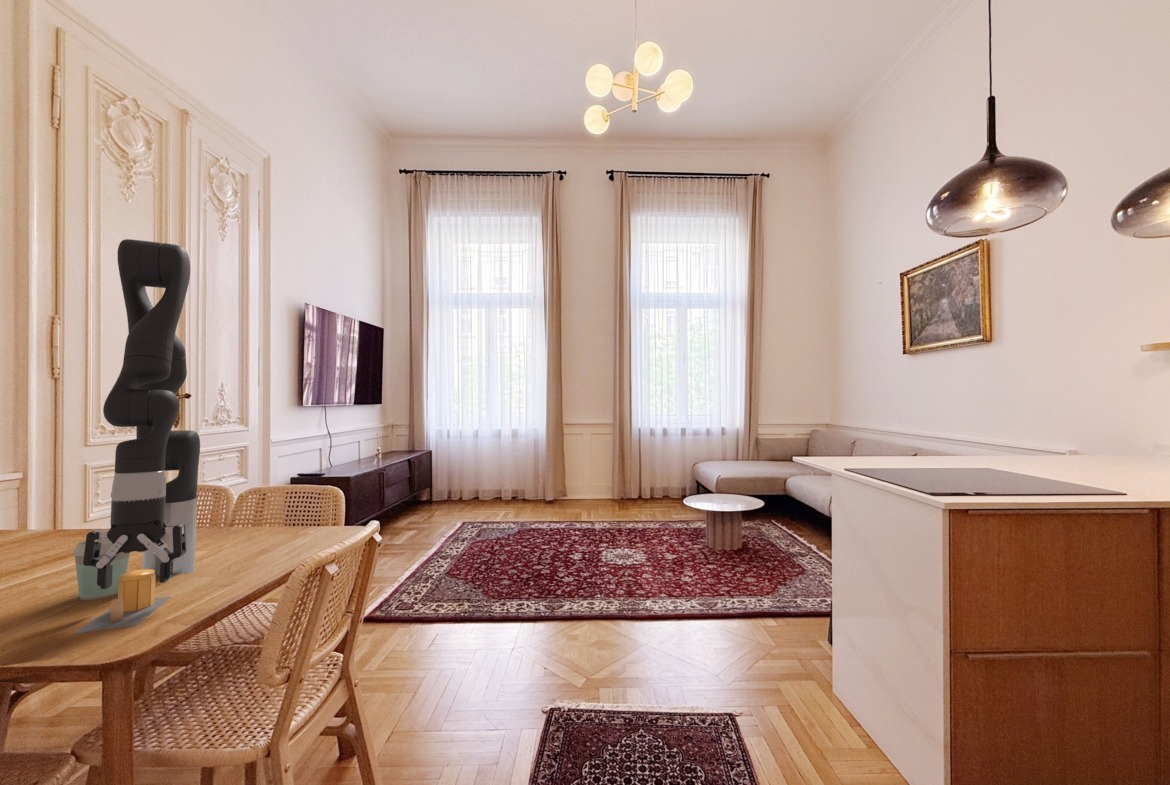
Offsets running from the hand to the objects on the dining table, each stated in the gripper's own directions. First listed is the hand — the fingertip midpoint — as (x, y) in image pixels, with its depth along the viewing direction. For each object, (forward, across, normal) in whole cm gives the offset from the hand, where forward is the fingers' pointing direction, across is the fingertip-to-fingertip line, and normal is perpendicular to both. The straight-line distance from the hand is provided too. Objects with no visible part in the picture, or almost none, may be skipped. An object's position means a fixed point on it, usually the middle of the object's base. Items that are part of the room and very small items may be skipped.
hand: (135, 584), depth 91 cm
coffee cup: (+6, +10, -11) cm, 16 cm away
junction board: (+6, 0, +3) cm, 6 cm away
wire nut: (+4, 0, -1) cm, 4 cm away
